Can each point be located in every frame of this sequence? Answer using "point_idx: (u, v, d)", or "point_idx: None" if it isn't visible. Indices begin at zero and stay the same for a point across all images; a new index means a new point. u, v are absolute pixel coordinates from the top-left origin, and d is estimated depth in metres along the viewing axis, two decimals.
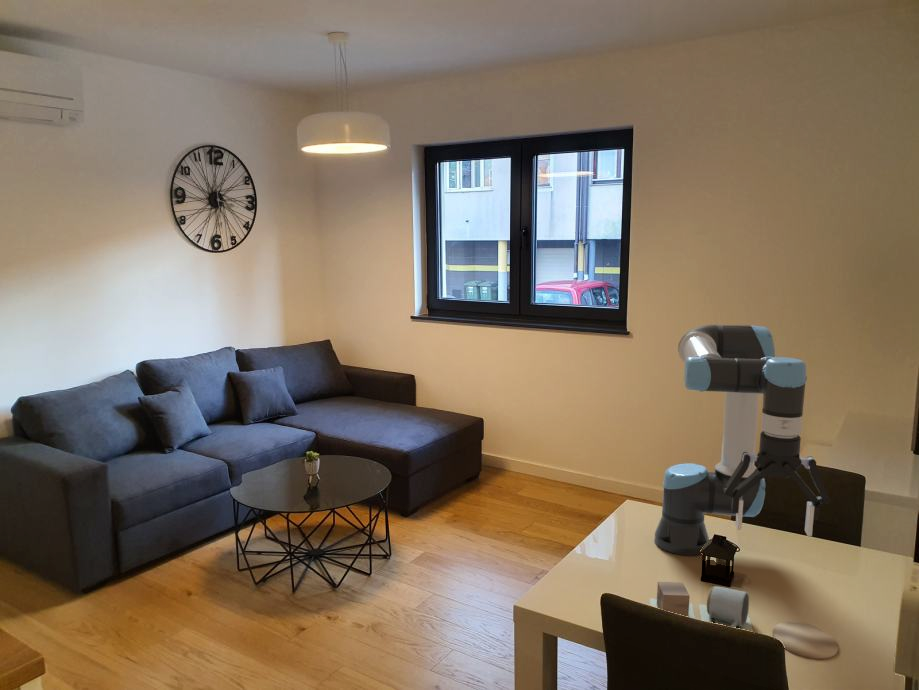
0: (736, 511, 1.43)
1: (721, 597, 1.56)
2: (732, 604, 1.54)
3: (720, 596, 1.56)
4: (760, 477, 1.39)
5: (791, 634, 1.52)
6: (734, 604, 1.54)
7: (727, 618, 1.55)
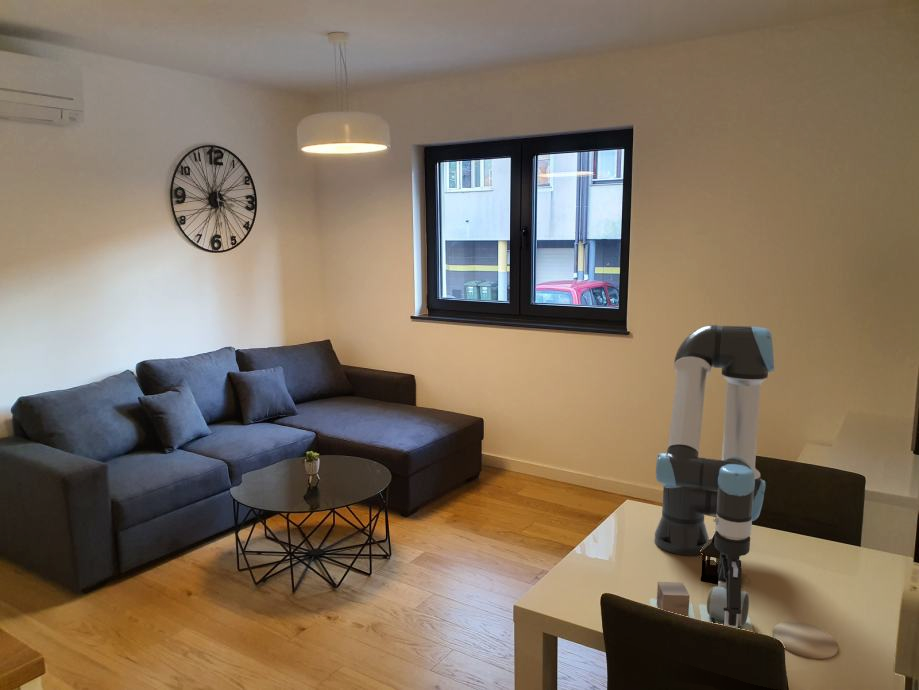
0: None
1: (721, 597, 1.56)
2: None
3: (720, 596, 1.56)
4: None
5: (791, 634, 1.52)
6: None
7: None
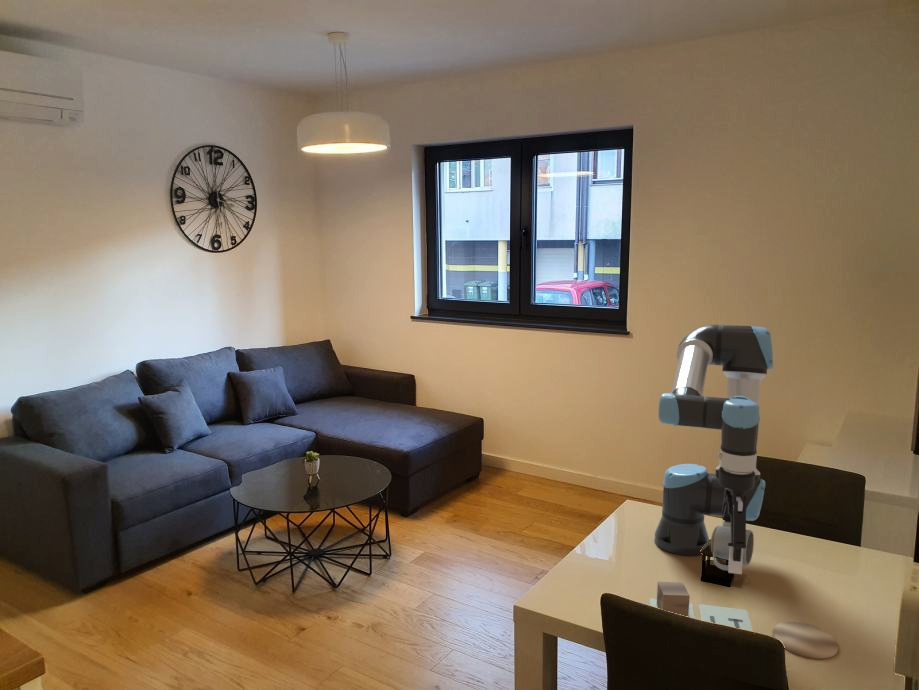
0: None
1: (725, 535, 1.53)
2: None
3: (724, 534, 1.53)
4: None
5: (791, 634, 1.52)
6: None
7: None
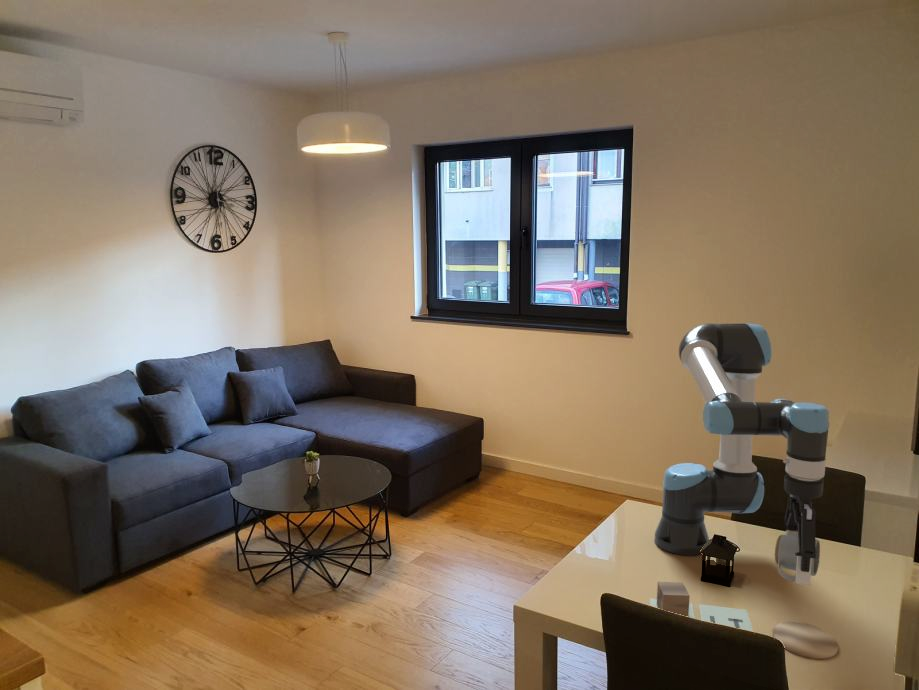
0: None
1: (791, 544, 1.47)
2: None
3: (790, 543, 1.48)
4: None
5: (791, 634, 1.52)
6: None
7: None
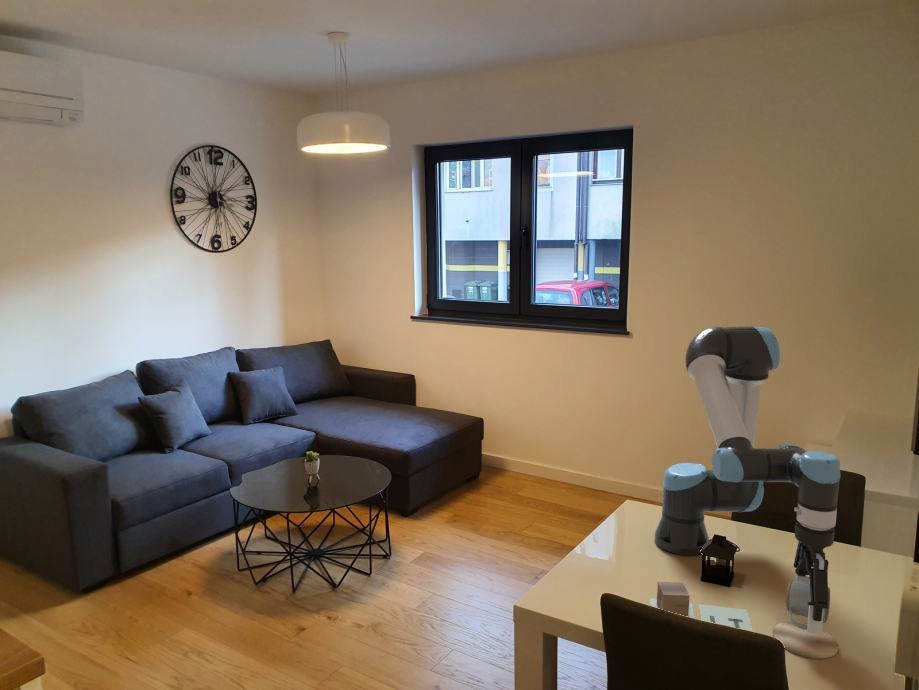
0: None
1: (802, 591, 1.48)
2: None
3: (801, 590, 1.48)
4: None
5: (791, 634, 1.52)
6: None
7: None
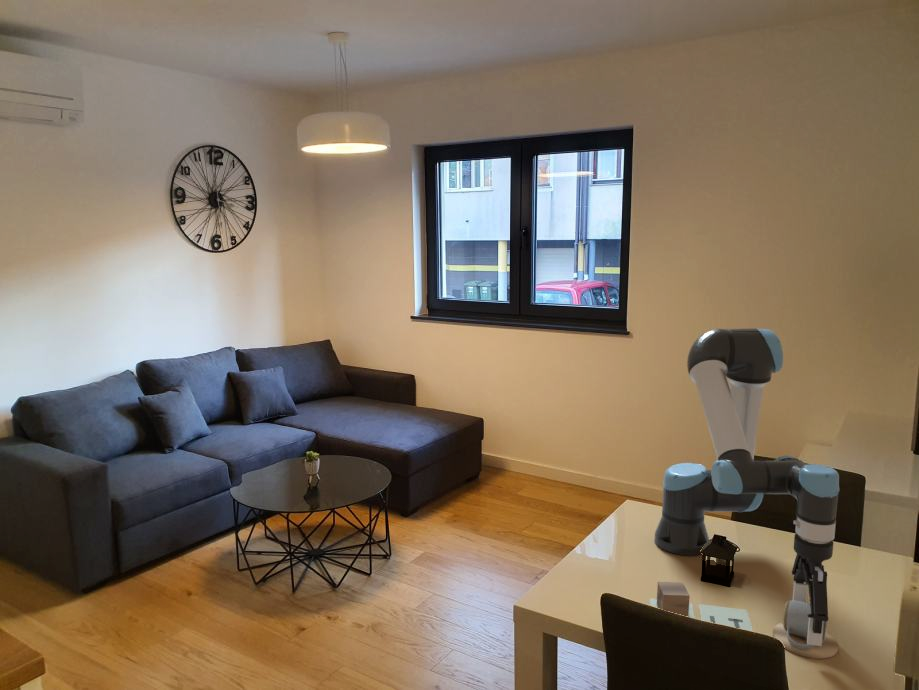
0: None
1: (799, 612, 1.49)
2: None
3: (798, 610, 1.49)
4: None
5: (791, 634, 1.52)
6: None
7: None
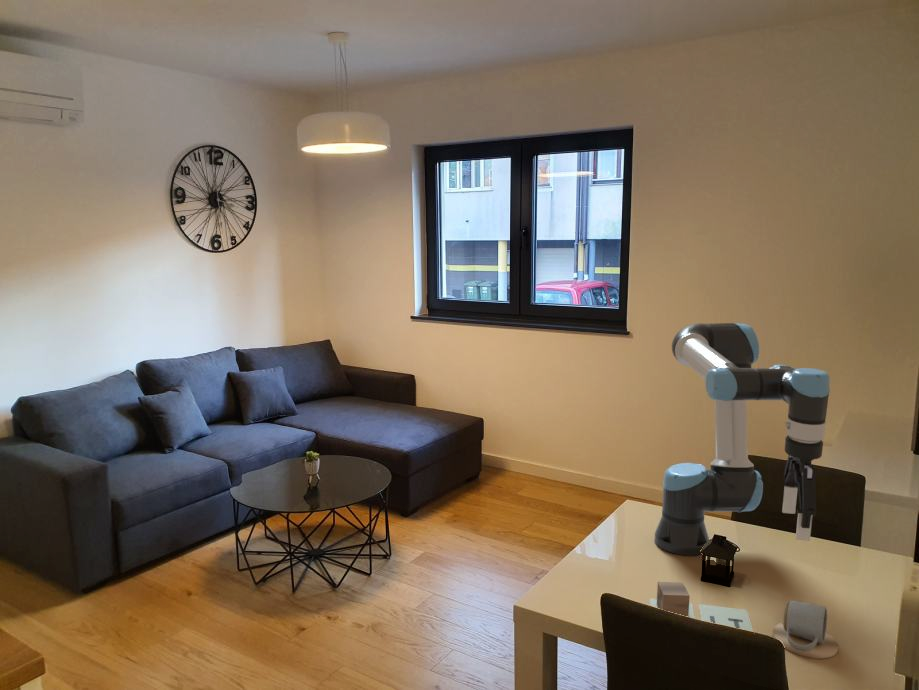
0: None
1: (799, 612, 1.49)
2: (812, 620, 1.47)
3: (798, 611, 1.49)
4: None
5: (791, 634, 1.52)
6: (815, 619, 1.47)
7: (806, 634, 1.48)
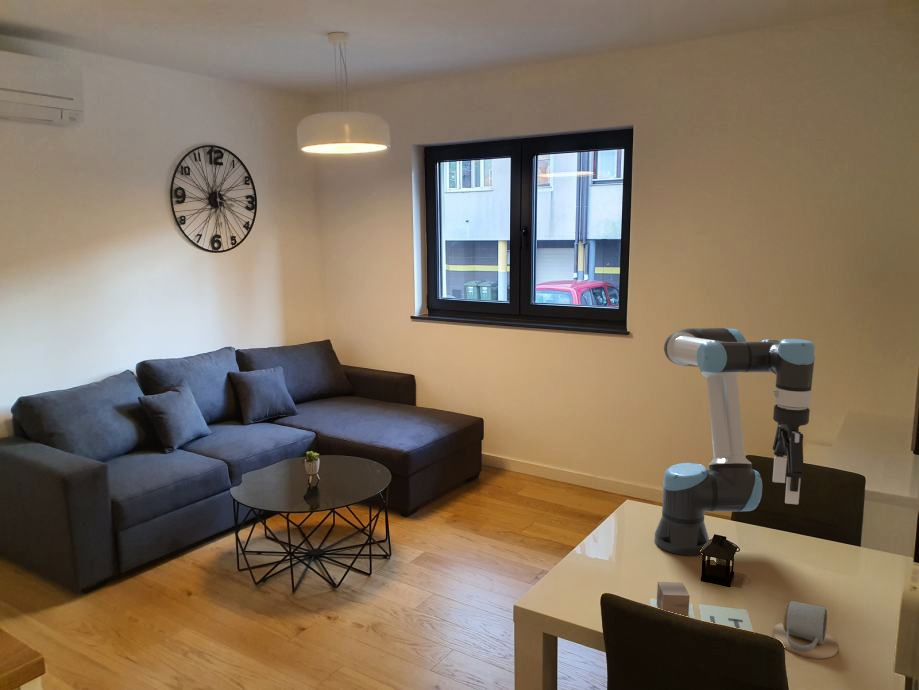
0: None
1: (799, 613, 1.49)
2: (812, 620, 1.47)
3: (798, 611, 1.49)
4: None
5: None
6: (815, 620, 1.46)
7: (806, 635, 1.47)
